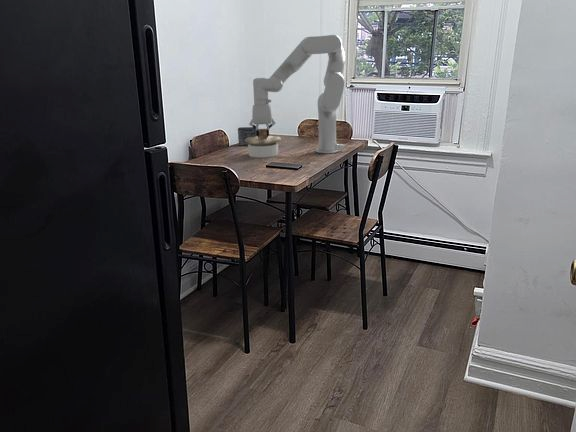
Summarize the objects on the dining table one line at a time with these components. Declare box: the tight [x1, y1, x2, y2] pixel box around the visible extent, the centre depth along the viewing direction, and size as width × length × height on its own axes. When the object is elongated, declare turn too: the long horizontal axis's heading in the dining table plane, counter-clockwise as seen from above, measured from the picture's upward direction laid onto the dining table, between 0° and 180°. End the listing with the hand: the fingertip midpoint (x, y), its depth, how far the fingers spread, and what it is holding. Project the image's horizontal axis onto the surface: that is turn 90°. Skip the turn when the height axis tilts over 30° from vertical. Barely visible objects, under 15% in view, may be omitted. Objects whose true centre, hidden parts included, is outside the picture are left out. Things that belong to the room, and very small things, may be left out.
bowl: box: [247, 142, 279, 159], centre depth 276 cm, size 16×16×6 cm
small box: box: [237, 126, 257, 147], centre depth 306 cm, size 11×6×10 cm, turn 84°
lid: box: [245, 128, 282, 144], centre depth 274 cm, size 19×19×6 cm
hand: (262, 136), depth 274 cm, fingers closed on lid, 4 cm apart
